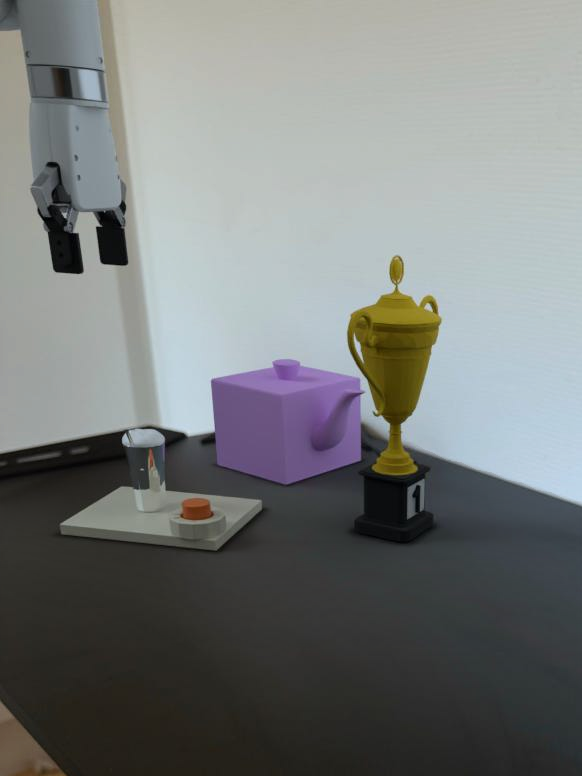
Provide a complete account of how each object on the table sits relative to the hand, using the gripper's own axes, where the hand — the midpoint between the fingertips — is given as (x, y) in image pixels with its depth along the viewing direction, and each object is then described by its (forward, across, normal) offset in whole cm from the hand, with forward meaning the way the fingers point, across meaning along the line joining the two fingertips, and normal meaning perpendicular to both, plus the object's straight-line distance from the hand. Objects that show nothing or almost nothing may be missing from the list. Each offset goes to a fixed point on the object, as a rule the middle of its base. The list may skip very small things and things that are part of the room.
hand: (92, 268), depth 103 cm
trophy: (+26, +2, +35) cm, 44 cm away
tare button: (+24, +12, +15) cm, 30 cm away
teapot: (+26, -19, +16) cm, 36 cm away
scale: (+26, +7, +9) cm, 29 cm away
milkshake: (+25, +7, +7) cm, 27 cm away
